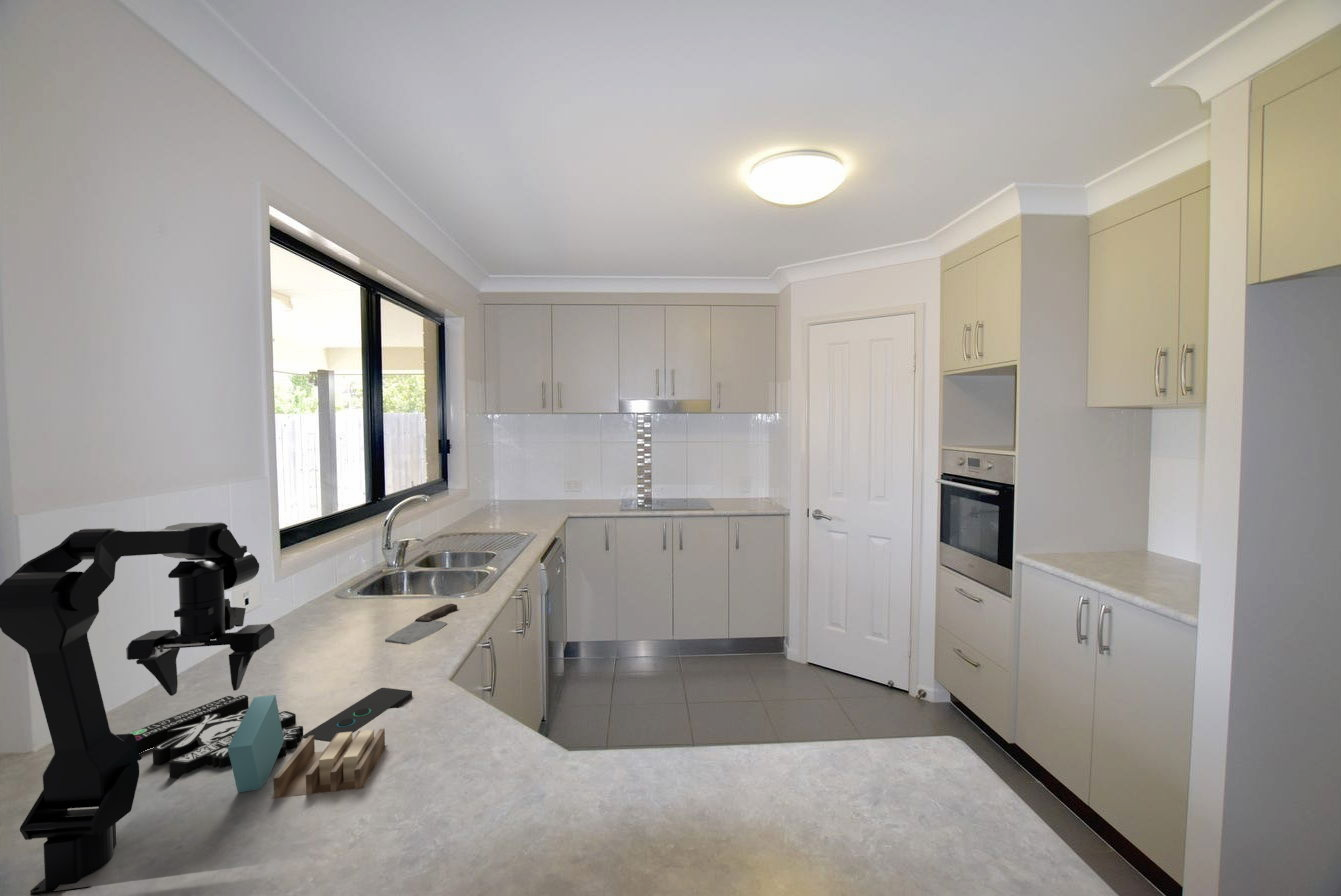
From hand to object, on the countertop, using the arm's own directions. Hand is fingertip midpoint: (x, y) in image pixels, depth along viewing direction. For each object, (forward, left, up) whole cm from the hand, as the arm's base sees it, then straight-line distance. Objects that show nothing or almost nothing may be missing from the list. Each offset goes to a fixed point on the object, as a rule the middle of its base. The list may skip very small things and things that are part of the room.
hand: (205, 692), depth 93 cm
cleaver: (+67, -20, -14) cm, 71 cm away
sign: (+7, +1, -14) cm, 16 cm away
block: (-4, -10, -11) cm, 16 cm away
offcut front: (-6, -25, -12) cm, 29 cm away
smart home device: (+13, -19, -14) cm, 27 cm away
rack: (-6, -21, -13) cm, 26 cm away
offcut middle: (-6, -22, -12) cm, 26 cm away
